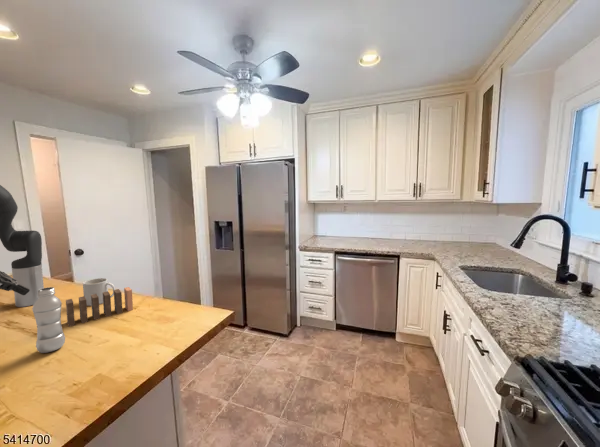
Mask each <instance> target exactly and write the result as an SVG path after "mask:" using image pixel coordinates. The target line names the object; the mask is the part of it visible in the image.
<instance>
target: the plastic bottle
mask: <svg viewBox="0 0 600 447" xmlns="http://www.w3.org/2000/svg"><path fill="white" fill-rule="evenodd" d="M55 294H56V291H55V287H53V286H51V287H44V288H43V289H40V290H38V297H39V299H38V300H37V301H36V302H35V304H34V305H32V309H31V310H32V312H33V316H34V320H35V322H36V330H37V331H36V332H37V333H36V343H35V348H36V350H37V352H39V353H40V354H47V353H51V352H54V351H57V350H59V349H61V348H62V347H63V346H64V345H65V343H66V342H65V341H66V336H65V333H64V330H63V327H62V326H63V325H62V313H61V312H62V304H63V303H62V300H61V299H60V298H58V297H57V296H56V295H55Z"/></svg>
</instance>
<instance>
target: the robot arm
mask: <svg viewBox="0 0 600 447" xmlns="http://www.w3.org/2000/svg"><path fill="white" fill-rule="evenodd" d="M18 209H19V208H18V204H17V203H16V200H15V199H14V197H13V195H12V194H11V193H10V191H9V190H8V189H6V187H4V186H2V185H1V184H0V242H1V243H2V246H3V247H4V249H6V250H7V251H8V252H13V253H15V252H17V253H18V252H19V253H20V252H26V255H25V256H24V257H22V258H21V257H20V258H18V259H15V260H13V261H11V275H12V276H10V275H8V274H7V273H5V272H4V271H2V270H0V290H3V291H6V292H10V291H13V294H14V304H15V307H17V308H22V307H29V306H33V305H34V304H35V302H36V301H37V300H38V299H39V297H38V290H40V289H43V288H45V287H44V277H43V276H44V275H43V264H42V260H43V251H42V250H43V249H42V246H43V244H42V243H43V242H42V235H41V234H40V232H39V231H37V230H16V229H14V227H13V224H12V222H13V220H14V218H15V217H16V215H17V213H18Z"/></svg>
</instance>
